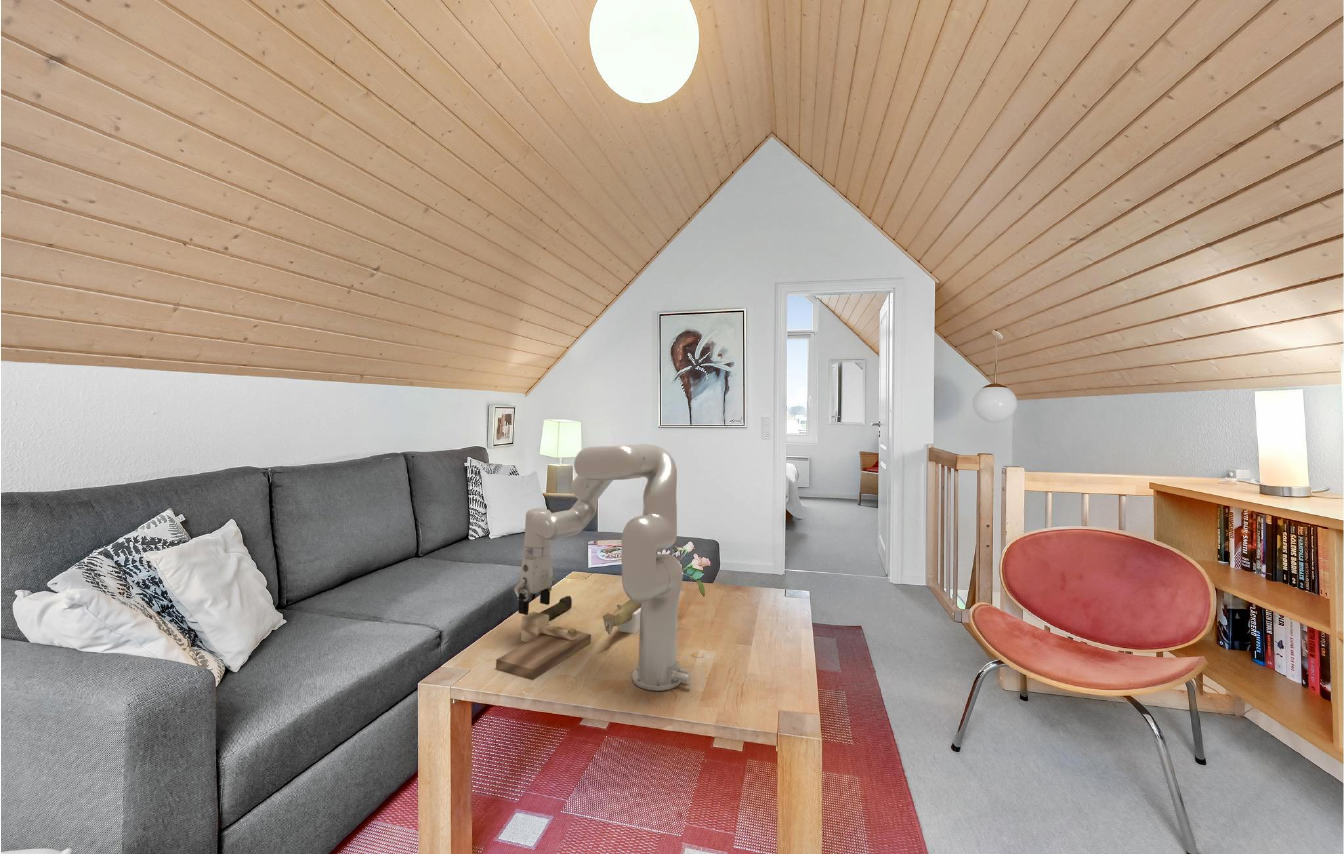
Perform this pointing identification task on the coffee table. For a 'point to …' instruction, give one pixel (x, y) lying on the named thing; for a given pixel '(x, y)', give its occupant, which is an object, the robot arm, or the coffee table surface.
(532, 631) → the beige block with stick
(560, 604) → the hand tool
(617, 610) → the wood carving
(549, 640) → the board
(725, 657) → the coffee table surface
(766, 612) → the coffee table surface
